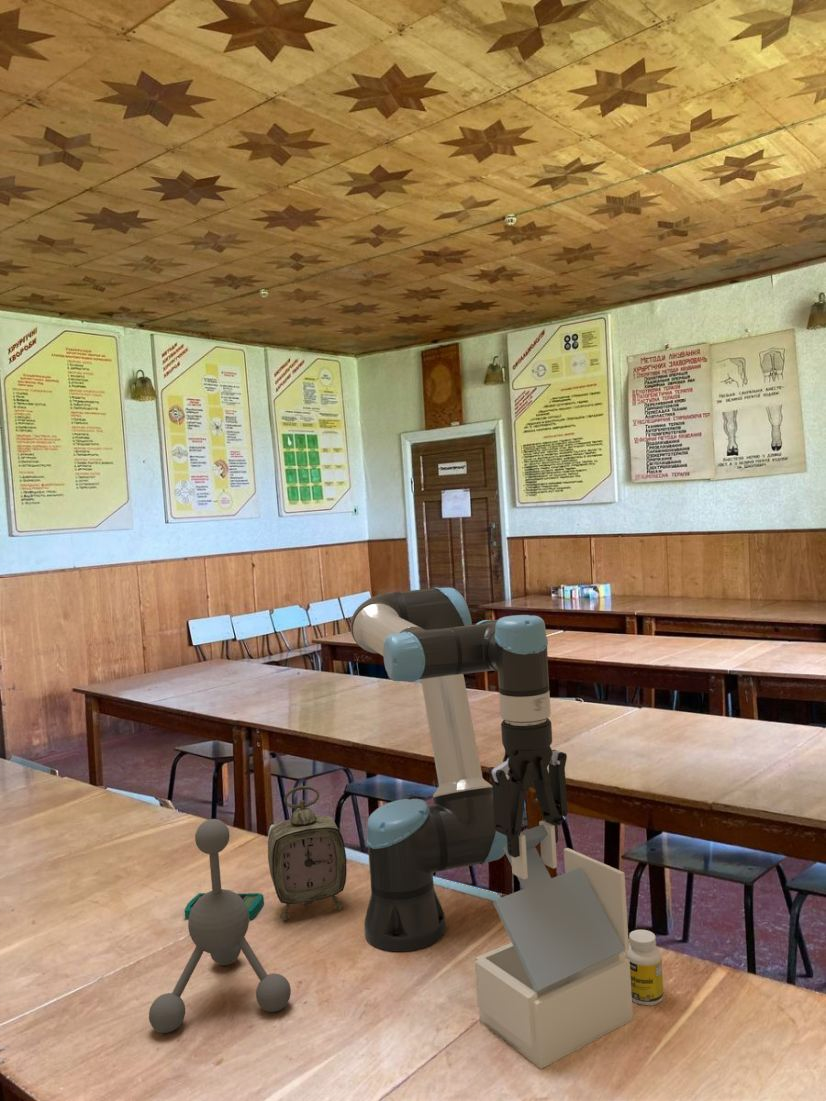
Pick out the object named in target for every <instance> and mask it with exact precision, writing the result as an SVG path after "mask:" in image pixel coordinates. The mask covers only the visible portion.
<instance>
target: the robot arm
mask: <svg viewBox="0 0 826 1101" xmlns="http://www.w3.org/2000/svg"><path fill="white" fill-rule="evenodd" d="M546 630H547V629H546V624H545V621H544V619H543V618H542V617H540V616H539V615H530V614H517V615H515V614H514V615H507V616H503V617H500V618H498V619H496V620H495V619H493V620H492V619H485V620H481V621H478V622H477V623H475V624H473V623H472V617H471V613H470V610H469V607H468V604H467V601H466V600H465V598H464V597H463V595H462V594H461V593H460V592H459V591H458V589H456V588H454V587H432V588H423V589H415V590H404V591H403V590H401V591H394V592H393V591H390V592H385V593H380V594H376V595H374V596H372V597H370V598H368V599H366V600H364V601H363V602H362V603H361V604H360V605H359V606H358V607H357V608H356V610H354V612H353V615H352V617H351V620H350V633H351V636H352V639H353V640H354V642H355V643H356V645H357V646H359V647H360V648H361V649H363V650H364V651H366V652H369V653H372V654H379V655H380V656H382V657H383V663H384V668H385V671H386V673H387V676H388V678H389V679H390V680H391V681H393V682H406V681H407V682H416V681H418V680H421V681H420V682H421V687H422V693H423V699H424V705H425V711H426V712H425V713H426V717H427V722H428V729H429V735H430V741H431V747H432V752H433V758H434V764H435V770H436V775H437V776H436V777H437V781H438V787H437V789H436V791H435V792H434V793H433V795H432V799H433V804H434V805H432V806H429V805H428V803H427V802H426V801H425V800H423V799H421V798H420V799H419V798H412V799H409V798H403V799H397V800H394V801H391V802H390V801H389V802H388V803H384V804H383V805H381V806H380V807H378V808H376V809H375V810H373V812H372V813H371V814H370V815H369V817H368V819H367V822H366V823H367V824H366V845H367V848H368V849H367V850H368V851H367V852H368V862H369V863H368V865H369V877H370V898H369V901H368V905H367V909H366V913H365V914H366V915H365V917H364V924H363V925H364V926H363V927H364V936H365V937H364V938H365V939H366V940H367V942H368V943H369V944H370V945H372V946H373V947H376V948H378V949H381V950H384V951H392V952H411V951H416V950H419V949H424V948H426V947H430V946H431V945H433V944H435V943H436V942H439V941H440V939H442V938H443V937H444V935H445V934H446V931H447V924H446V923H447V921H446V920H447V919H446V915H445V911H444V909H443V907H442V904H441V902H440V899H439V897H438V894H437V892H436V889H435V887H434V883H435V882H434V873H437V872H443V871H448V870H454V869H460V868H466V867H470V866H476V865H480V866H481V865H485V864H486V863H490V862H493V861H498V860H500V859H501V858H503V857H504V855H506V853H505V851H504V849H503V848H504V847H505V845H506V844H507V849H508V854H509V855H510V856H511V858H512V865H511V871H512V874H513V875H514V876H516V877H517V876H518V877H520V878H522V879H527V878H528V873H527V856H526V839H525V835H523V834H521V832H522V826H523V820H524V811H525V804H526V798H527V792H528V791H529V790H530V784H531V783H532V784H533V786H534V789H535V790H534V791H535V794H536V797H537V798H536V799H537V801H538V804H539V809H540V812H541V814H542V818H543V819H544V820H540V821H539V822H538V826H540V825H544V827H545V829H546V831H547V833H548V835H547V836H546V837H545V838H544V839H543V840H542V841H541V842H539V844H540V857H541V859H542V861H543V863H544V865H545V866H548V867H549V868H551V869H556V868H558V865H557V864H558V863H557V847H556V846H557V845H556V844H557V843H558V841H559V833H558V832H559V830H558V826H561V825H562V824H563V821H564V820H563V819H562V817H567V815H568V813H569V811H568V808H569V807H568V800H567V799H568V797H567V796H568V795H567V783H566V770H565V769H566V764H567V759H568V755H567V753H566V752H563V751H559V750H556V749H552V747H551V745H552V743H553V728H552V726H553V725H552V721H551V720H550V719H549V718H550V716H551V714H552V712H551V698H550V697H551V696H550V693H551V692H550V681H549V680H550V679H549V678H550V677H549V660H548V659H549V658H548V657H549V655H548V645H549V642H548V641H549V640H548V637H547V631H546ZM491 671H495V672H497V678H498V695H499V696H498V698H499V716H500V718H501V719H502V721H501V723H500V728H501V730H500V731H501V744H502V746H503V747H504V748H503V749H504V756H503V759H502V763H501V764H499V765H498V766H497V767H495V766H491V767H489V768H488V775H489V778H490V780H491V783H492V784H490V783H489V782H488V781H487V780H485V779H484V778H483V772H482V768H481V762H480V757H479V751H478V746H477V740H476V736H475V735H476V734H475V730H474V724H473V723H474V722H473V719H472V713H471V707H470V703H469V698H468V696H469V695H468V692H467V687H466V680H465V677H464V675H465V674H473V673H483V672H491ZM518 877H517V878H518Z"/></svg>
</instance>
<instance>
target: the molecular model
mask: <svg viewBox="0 0 826 1101" xmlns="http://www.w3.org/2000/svg"><path fill="white" fill-rule="evenodd" d="M230 835H231V834H230V830H229V827H228V826H227V824H226V823H224V822H223V821H222V820H220V819H217V818H210V819H207V820H205V821H203V822H202V823H201V824H200V825H199V826H198V827H197V829H196V832H195V836H194V841H195V845H196V846H197V848H198V850H199V851H200V852H202V853H203V854H206V855H209V868H210V878H211V881H210V882H211V890H210V891H208V892H205V893H206V894H204V895H203V896H202V897H200V898H199V899H198V900H197V902H196V903H195V904H194V906H193V907H192V910H191V912H190V915H189V919H187V920H188V922H187V927H188V929H187V930H188V933H189V936H190V938H191V940H192V942H193V943H194V944H195V948H194V950H193V952H192V953H191V955H190V957H189V959H188V961H187V963H186V965H185V967H184V968H183V971H182V972H181V974H180V976H179V979H178V981H176V982H177V983H176V984H175V986H174V988H173V990H172V992H167V993H166V992H165V993H163V994H161V995H159V996H157V997H156V998H155V999H154V1001H153V1002H152V1003H151V1004H150V1008H149V1011H148V1020H149V1023H150V1025H151V1027H152V1028H153V1029H154V1030H155V1031H157V1032H158V1033H162V1034H169V1033H172V1032H174V1031H176V1029H178V1028H179V1027H180V1026H181V1025H182V1023H183V1022H184V1019H185V1015H186V1005H185V1002H184V1000H183V999H182V998H181V997H182V994H183V993H184V991H185V989H186V987H187V985H188V982H189V981H190V978H191V977H192V974H193V973H194V971H195V969H196V967H197V965H198V963H199V961H200V959H201V958H202V955H203V953H207V954H210V957H211V959H212V961H213V962H215V963H216V964H218V965H221V966H227V965H230V964H232V963H233V962H235V961H236V960H237V959H238V957H239V956H240V954H241V951H242V954H243V955H244V957H245V958H246V959H247V961H248V963H249V965H250V966H251V968H252V969H253V972H255V974H256V976H257V978H258V979H259V983H258V985H257V987H256V991H255V998H256V1001H257V1004H258V1005H259V1007H260V1008H261V1009H262V1010H264V1011H266V1012H268V1013H276V1012H279V1011H281V1010H282V1009H284V1008H285V1007H286V1006H287V1004H288V1003H289V1001H290V998H291V991H292V989H291V984H290V982H289V980H288V978H287V977H285V976H283V975H282V974H280V973H270V974H268V973H267V972H266V970H265V968H264V967H263V965H262V964H261V962H260V960H259V959H258V957H257V955H256V954H255V953H254V950H253V949H252V947H251V946H250V944H249V941H248V940H247V939H246V934H247V932H248V929H249V924H250V920H249V913H248V908H247V906H246V903H245V902H244V901H243V899H242V898H241V897H240V896H239V895H238V894H239V893H237V892H234V891H232V890H230V889H225V888H222V880H221V869H220V856H219V853H221V852H222V851H224V850H225V848H226V847H227V846H228V844H229V841H230Z"/></svg>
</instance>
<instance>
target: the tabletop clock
mask: <svg viewBox="0 0 826 1101" xmlns="http://www.w3.org/2000/svg"><path fill="white" fill-rule="evenodd" d="M302 790H303V791H304V790H310V791H313V792H314V793H315V794H316V798H315V799H313V800H312V801H309V802H306V801H305V800H304V799H301V800H299V803H298V804H291V803H289V802H288V801H287V798H288V797H289V796H290V795H291V794H292V793H294V792H297V791H302ZM319 799H320V792H319V791H318V789H317V788H315V787H314V786H311V785H300V786H295V787H293V788H291V789H290V790H288V791H287V793H286V794H285V795H284V798H283V802H284V804H285V805H286V806H287V807H289V808H291V809H296V810H294V811H293V813H292V814H291V816H290V819H287V820H283V821H280V822H278V823H276V824H274V825H272V826H271V827H270V830H269V832H268V838H267V861H268V866H269V867H268V868H269V874H270V877H271V880H272V883H273V887H274V890H275V894H276V896H277V898H278V900H279V902H280V903H281V904H285V909H284V911H283V912H282V913H281V915H280V918H281V920H282V921H287V920H289V918H290V914H289V909H290V906H291V905H298V904H299V905H300V904H304V905H306V906H310V905H311V904H312V903H314V902H318V901H322V900H327V899H328V898H332V899H333V901H334V907H335V909H336V910H338V911H340V910H342V909H343V908H344V907H343V906H344V904H343V901H341V900H338V899H337V895H339V894H340V893H342V892H343V891H344V890H345V886H346V882H347V852H346V847H345V846H346V845H345V842H344V838H343V835H342V833H341V831H340V829H339V828H338V826H337V824H336V822H335V821H334V819H333V817H332V816H329V815H324V814H320V815H319V814H317V815H316V814H315V812H314V811H313V810H312V809H311V808H310V806H312V805H314V804H316V803H317V801H319Z"/></svg>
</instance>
